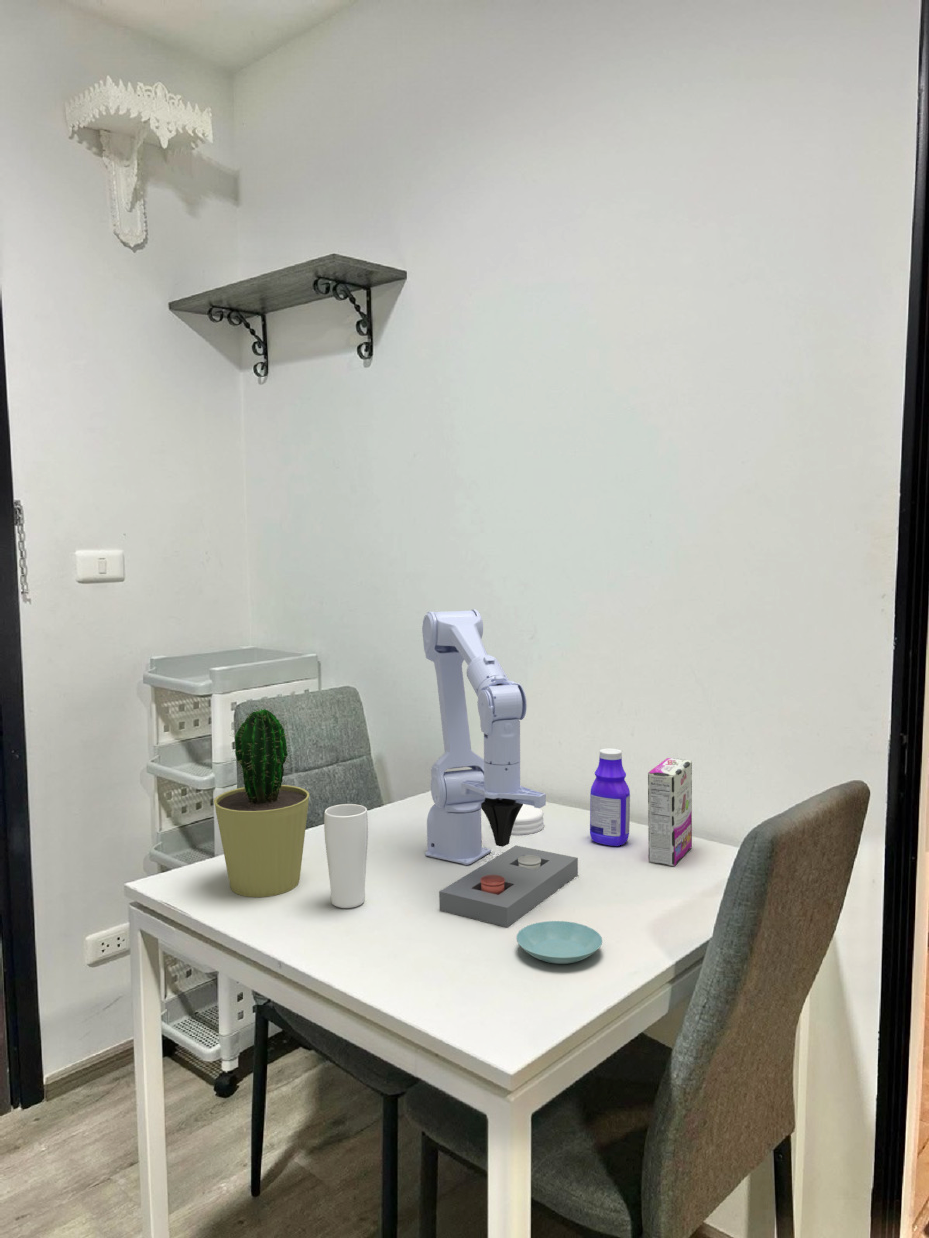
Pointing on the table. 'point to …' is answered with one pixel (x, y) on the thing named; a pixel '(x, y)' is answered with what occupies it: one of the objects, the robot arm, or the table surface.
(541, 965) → the table surface
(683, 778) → the candy bar box
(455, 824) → the robot arm
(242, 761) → the potted cactus
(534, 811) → the white ridged round container
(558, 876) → the console
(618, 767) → the bottle
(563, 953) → the saucer
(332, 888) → the drinking glass
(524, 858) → the sample container
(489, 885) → the red button
